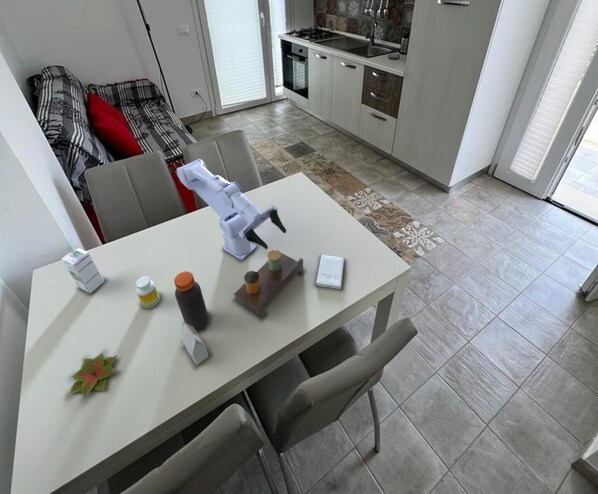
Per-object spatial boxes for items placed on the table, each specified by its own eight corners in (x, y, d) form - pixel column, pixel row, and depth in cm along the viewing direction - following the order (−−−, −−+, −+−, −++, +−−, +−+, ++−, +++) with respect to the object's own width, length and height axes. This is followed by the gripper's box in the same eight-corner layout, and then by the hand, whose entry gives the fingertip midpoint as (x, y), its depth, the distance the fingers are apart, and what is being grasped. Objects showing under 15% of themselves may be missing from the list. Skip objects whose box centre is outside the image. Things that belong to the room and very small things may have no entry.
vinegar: (188, 336, 96) (172, 293, 85) (183, 317, 101) (168, 274, 90) (211, 326, 99) (199, 282, 88) (205, 308, 104) (193, 265, 93)
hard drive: (343, 260, 119) (340, 289, 109) (321, 257, 120) (316, 285, 110) (344, 257, 118) (341, 286, 108) (321, 254, 119) (316, 282, 109)
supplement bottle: (141, 297, 107) (132, 278, 102) (158, 291, 109) (151, 272, 104) (142, 311, 103) (133, 291, 98) (160, 304, 105) (153, 284, 100)
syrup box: (105, 281, 113) (89, 251, 105) (89, 294, 109) (72, 264, 100) (93, 275, 115) (77, 246, 107) (78, 288, 111) (60, 258, 103)
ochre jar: (242, 289, 105) (241, 278, 102) (252, 279, 108) (251, 268, 105) (253, 296, 103) (251, 285, 100) (263, 286, 106) (262, 275, 103)
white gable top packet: (196, 365, 89) (189, 345, 84) (185, 347, 94) (177, 326, 88) (208, 356, 91) (202, 335, 86) (197, 338, 96) (190, 318, 90)
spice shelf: (235, 300, 106) (233, 287, 102) (278, 257, 121) (277, 245, 117) (261, 318, 100) (259, 306, 97) (303, 271, 115) (303, 259, 112)
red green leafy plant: (109, 398, 83) (102, 389, 80) (59, 403, 82) (51, 394, 80) (126, 350, 93) (121, 341, 90) (82, 354, 92) (75, 345, 90)
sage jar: (265, 267, 112) (264, 255, 109) (274, 258, 116) (273, 247, 112) (276, 273, 110) (275, 262, 107) (284, 264, 113) (283, 253, 110)
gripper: (228, 218, 101) (257, 249, 95) (264, 191, 107) (293, 218, 101) (231, 229, 106) (258, 258, 101) (265, 202, 113) (293, 229, 107)
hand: (276, 239), depth 101 cm, fingers open, 7 cm apart
